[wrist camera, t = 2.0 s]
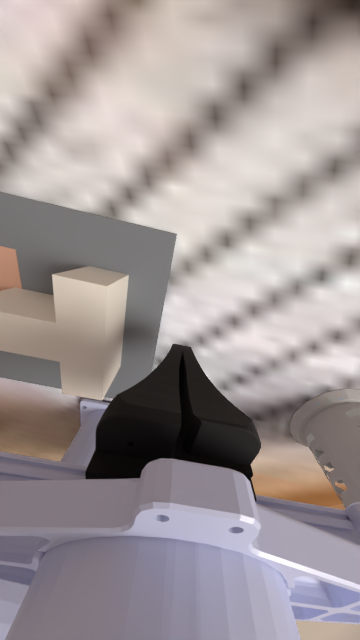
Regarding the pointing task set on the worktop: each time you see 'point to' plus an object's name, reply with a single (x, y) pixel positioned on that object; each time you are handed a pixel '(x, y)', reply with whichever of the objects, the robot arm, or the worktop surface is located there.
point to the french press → (333, 437)
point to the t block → (70, 327)
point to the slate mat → (77, 252)
